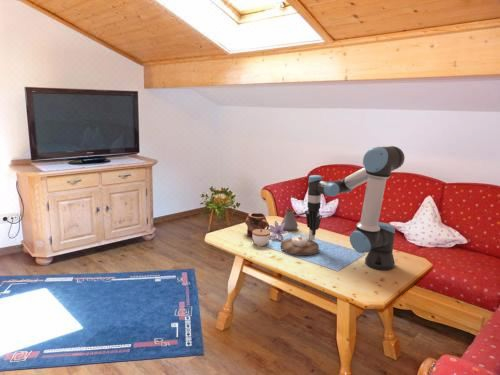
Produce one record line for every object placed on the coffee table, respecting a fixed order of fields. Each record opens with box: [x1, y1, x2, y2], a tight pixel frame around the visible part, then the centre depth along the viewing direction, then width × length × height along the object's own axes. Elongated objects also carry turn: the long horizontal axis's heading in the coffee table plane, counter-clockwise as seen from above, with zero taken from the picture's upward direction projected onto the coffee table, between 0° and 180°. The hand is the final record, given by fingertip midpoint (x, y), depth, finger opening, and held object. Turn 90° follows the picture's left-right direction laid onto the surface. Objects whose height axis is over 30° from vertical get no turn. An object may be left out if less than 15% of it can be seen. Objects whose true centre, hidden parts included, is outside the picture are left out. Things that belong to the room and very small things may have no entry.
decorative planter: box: [244, 212, 270, 238], centre depth 248 cm, size 20×12×14 cm, turn 48°
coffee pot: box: [280, 209, 306, 232], centre depth 261 cm, size 21×12×15 cm, turn 53°
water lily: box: [268, 220, 288, 242], centre depth 246 cm, size 15×15×9 cm
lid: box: [291, 234, 308, 247], centre depth 228 cm, size 9×9×5 cm
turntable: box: [280, 236, 319, 256], centre depth 228 cm, size 22×22×6 cm
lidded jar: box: [251, 228, 271, 247], centre depth 235 cm, size 11×11×9 cm
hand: (312, 239), depth 233 cm, fingers closed
